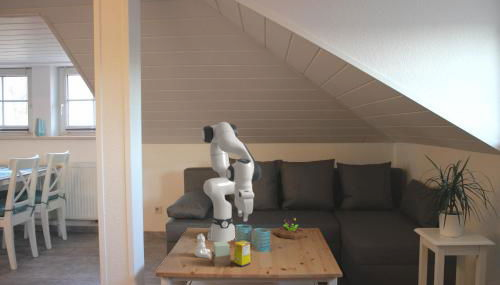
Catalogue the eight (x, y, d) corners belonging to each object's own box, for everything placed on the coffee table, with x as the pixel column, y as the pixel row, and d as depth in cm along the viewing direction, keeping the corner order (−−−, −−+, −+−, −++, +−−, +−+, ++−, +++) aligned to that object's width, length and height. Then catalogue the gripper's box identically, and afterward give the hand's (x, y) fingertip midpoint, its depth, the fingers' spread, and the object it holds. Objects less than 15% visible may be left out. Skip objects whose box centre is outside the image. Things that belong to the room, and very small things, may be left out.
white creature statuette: (210, 258, 188) (210, 236, 187) (193, 259, 187) (194, 236, 186) (210, 252, 197) (210, 230, 197) (194, 253, 196) (194, 231, 196)
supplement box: (242, 260, 185) (242, 239, 185) (250, 264, 181) (250, 242, 181) (233, 263, 181) (233, 242, 181) (241, 267, 177) (242, 245, 176)
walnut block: (211, 261, 185) (211, 251, 185) (226, 259, 187) (226, 250, 187) (214, 267, 177) (214, 257, 177) (230, 265, 179) (230, 255, 179)
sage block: (213, 251, 184) (213, 242, 184) (226, 250, 186) (226, 241, 186) (215, 256, 177) (215, 246, 177) (229, 255, 180) (229, 245, 179)
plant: (297, 241, 220) (298, 223, 219) (270, 235, 231) (270, 218, 230) (311, 233, 236) (311, 216, 236) (285, 228, 247) (285, 212, 247)
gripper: (231, 188, 189) (231, 214, 189) (242, 195, 169) (242, 224, 170) (243, 187, 191) (242, 213, 191) (255, 195, 171) (254, 223, 172)
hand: (242, 218), depth 180 cm, fingers open, 7 cm apart
